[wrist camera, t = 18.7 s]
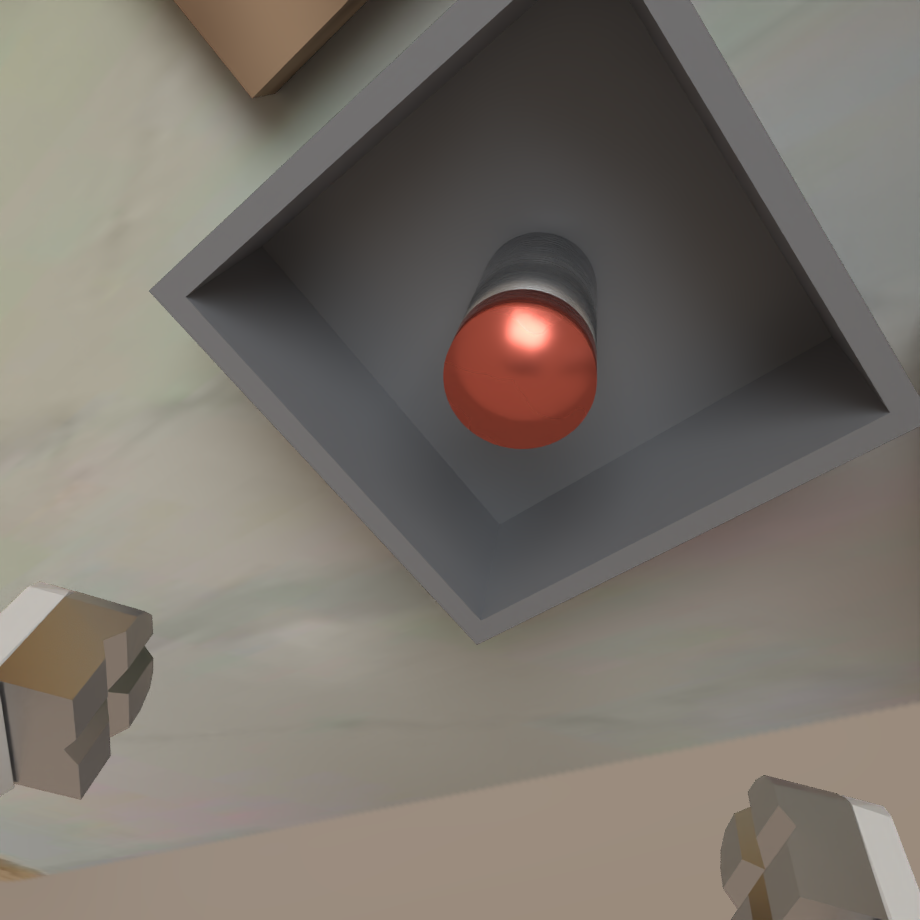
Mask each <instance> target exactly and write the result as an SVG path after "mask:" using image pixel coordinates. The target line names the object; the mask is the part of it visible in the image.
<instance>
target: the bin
mask: <svg viewBox="0 0 920 920" xmlns="http://www.w3.org/2000/svg"><path fill="white" fill-rule="evenodd" d="M533 232H547V233H553V234H556V235H559V236H562V237H564V238H566V239H568V240H570V241H571V242H573V243H574V244H576V245H577V246H578V247H579V248H580V249H581V250H582V251H583V252H584V253H585V255H586V256H587V258H588V259H589V261H590V263H591V265H592V267H593V269H594V272H595V276H596V282H597V387H596V394H595V398H594V401H593V404H592V406H591V409H590V410H589V412H588V414H587V416H586V417H585V418H584V420H583V421H582V422H581V424H580V425H579V426H578V427H577V428H576V429H575V430H574V431H572V432H571V433H570V434H568V435H567V436H566V437H564V438H562V439H560V440H559V441H557V442H554V443H552V444H549V445H546V446H543V447H538V448H532V449H512V448H506V447H501V446H498V445H495V444H492V443H490V442H488V441H485V440H483V439H482V438H480V437H478V436H477V435H475V434H474V433H472V432H471V431H470V430H469V429H467V428H466V427H465V426H464V425H463V424H462V423H461V421H460V420H459V419H458V418H457V416H456V415H455V413H454V412H453V410H452V408H451V406H450V404H449V402H448V400H447V397H446V393H445V389H444V382H443V370H444V363H445V359H446V355H447V353H448V350H449V348H450V346H451V344H452V341H453V339H454V337H455V335H456V333H457V330H458V328H459V326H460V324H461V322H462V319H463V317H464V315H465V313H466V311H467V308H468V306H469V304H470V302H471V299H472V297H473V295H474V293H475V291H476V288H477V286H478V284H479V282H480V280H481V277H482V275H483V273H484V271H485V269H486V266H487V264H488V262H489V261H490V259H491V257H492V256H493V255H494V253H495V252H496V251H497V250H498V249H499V248H500V247H501V246H502V245H503V244H505V243H506V242H508V241H509V240H511V239H513V238H515V237H517V236H520V235H523V234H527V233H533ZM149 292H150V293H151V294H152V295H153V296H154V297H155V298H156V299H157V300H158V301H159V303H160V304H161V305H162V306H163V307H164V308H165V309H166V310H167V311H168V312H169V313H170V314H171V315H172V317H173V318H174V319H175V320H176V321H177V322H178V323H179V324H180V325H181V326H182V327H183V328H184V329H185V331H186V332H187V333H188V334H189V335H190V336H191V337H192V338H193V339H194V340H195V341H196V342H197V344H198V345H199V346H200V347H201V348H202V349H203V350H204V351H205V352H206V353H207V354H208V355H209V356H210V358H211V359H212V360H213V361H214V362H215V363H216V364H217V365H218V366H219V367H220V368H221V369H222V370H223V372H224V373H225V374H226V375H227V376H228V377H229V378H230V379H231V380H232V381H233V382H234V383H235V384H236V386H237V387H238V388H239V389H240V390H241V391H242V392H243V393H244V394H245V395H246V396H247V397H248V399H249V400H250V401H251V402H252V403H253V404H254V405H255V406H256V407H257V408H258V409H259V410H260V411H261V413H262V414H263V415H264V416H265V417H266V418H267V419H268V420H269V421H270V422H271V423H272V424H273V425H274V427H275V428H276V429H277V430H278V431H279V432H280V433H281V434H282V435H283V436H284V437H285V438H286V440H287V441H288V442H289V443H290V444H291V445H292V446H293V447H294V448H295V449H296V450H297V451H298V452H299V454H300V455H301V456H302V457H303V458H304V459H305V460H306V461H307V462H308V463H309V464H310V465H311V466H312V468H313V469H314V470H315V471H316V472H317V473H318V474H319V475H320V476H321V477H322V478H323V479H324V480H325V482H326V483H327V484H328V485H329V486H330V487H331V488H332V489H333V490H334V491H335V492H336V493H337V495H338V496H339V497H340V498H341V499H342V500H343V501H344V502H345V503H346V504H347V505H348V506H349V507H350V509H351V510H352V511H353V512H354V513H355V514H356V515H357V516H358V517H359V518H360V519H361V520H362V521H363V523H364V524H365V525H366V526H367V527H368V528H369V529H370V530H371V531H372V532H373V533H374V534H375V536H376V537H377V538H378V539H379V540H380V541H381V542H382V543H383V544H384V545H385V546H386V547H387V548H388V550H389V551H390V552H391V553H392V554H393V555H394V556H395V557H396V558H397V559H398V560H399V561H400V562H401V564H402V565H403V566H404V567H405V568H406V569H407V570H408V571H409V572H410V573H411V574H412V575H413V576H414V578H415V579H416V580H417V581H418V582H419V583H420V584H421V585H422V586H423V587H424V588H425V589H426V591H427V592H428V593H429V594H430V595H431V596H432V597H433V598H434V599H435V600H436V601H437V602H438V603H439V605H440V606H441V607H442V608H443V609H444V610H445V611H446V612H447V613H448V614H449V615H450V616H451V617H452V619H453V620H454V621H455V622H456V623H457V624H458V625H459V626H460V627H461V628H462V629H463V630H464V631H465V633H466V634H467V635H468V636H469V637H470V638H471V639H472V640H473V641H474V642H475V643H476V644H477V645H478V644H480V643H482V642H484V641H486V640H488V639H490V638H492V637H494V636H496V635H498V634H500V633H502V632H504V631H506V630H508V629H510V628H512V627H514V626H516V625H518V624H520V623H522V622H524V621H526V620H528V619H530V618H532V617H534V616H536V615H538V614H540V613H542V612H544V611H546V610H548V609H550V608H552V607H555V606H557V605H559V604H561V603H563V602H565V601H567V600H569V599H571V598H573V597H575V596H577V595H579V594H581V593H583V592H585V591H587V590H589V589H591V588H593V587H595V586H597V585H599V584H601V583H603V582H605V581H607V580H609V579H611V578H613V577H615V576H617V575H619V574H621V573H623V572H625V571H627V570H629V569H632V568H634V567H636V566H638V565H640V564H642V563H644V562H646V561H648V560H650V559H652V558H654V557H656V556H658V555H660V554H662V553H664V552H666V551H668V550H670V549H672V548H674V547H676V546H678V545H680V544H682V543H684V542H686V541H688V540H690V539H692V538H694V537H696V536H698V535H700V534H702V533H704V532H706V531H708V530H711V529H713V528H715V527H717V526H719V525H721V524H723V523H725V522H727V521H729V520H731V519H733V518H735V517H737V516H739V515H741V514H743V513H745V512H747V511H749V510H751V509H753V508H755V507H757V506H759V505H761V504H763V503H765V502H767V501H769V500H771V499H773V498H775V497H777V496H779V495H781V494H783V493H785V492H788V491H790V490H792V489H794V488H796V487H798V486H800V485H802V484H804V483H806V482H808V481H810V480H812V479H814V478H816V477H818V476H820V475H822V474H824V473H826V472H828V471H830V470H832V469H834V468H836V467H838V466H840V465H842V464H844V463H846V462H848V461H850V460H852V459H854V458H856V457H858V456H860V455H862V454H865V453H867V452H869V451H871V450H873V449H875V448H877V447H879V446H881V445H883V444H885V443H887V442H889V441H891V440H893V439H895V438H897V437H899V436H901V435H903V434H905V433H907V432H909V431H911V430H913V429H915V428H917V427H919V426H920V397H919V395H918V393H917V391H916V390H915V388H914V386H913V385H912V383H911V381H910V379H909V378H908V376H907V374H906V372H905V371H904V369H903V367H902V366H901V364H900V362H899V360H898V359H897V357H896V355H895V353H894V352H893V350H892V348H891V347H890V345H889V343H888V341H887V340H886V338H885V336H884V334H883V333H882V331H881V329H880V327H879V326H878V324H877V322H876V321H875V319H874V317H873V315H872V314H871V312H870V310H869V308H868V307H867V305H866V303H865V302H864V300H863V298H862V296H861V295H860V293H859V291H858V289H857V288H856V286H855V284H854V283H853V281H852V279H851V277H850V276H849V274H848V272H847V270H846V269H845V267H844V265H843V264H842V262H841V260H840V258H839V257H838V255H837V253H836V251H835V250H834V248H833V246H832V244H831V243H830V241H829V239H828V238H827V236H826V234H825V232H824V231H823V229H822V227H821V225H820V224H819V222H818V220H817V219H816V217H815V215H814V213H813V212H812V210H811V208H810V206H809V205H808V203H807V201H806V200H805V198H804V196H803V194H802V193H801V191H800V189H799V187H798V186H797V184H796V182H795V181H794V179H793V177H792V175H791V174H790V172H789V170H788V168H787V167H786V165H785V163H784V162H783V160H782V158H781V156H780V155H779V153H778V151H777V149H776V148H775V146H774V144H773V142H772V141H771V139H770V137H769V136H768V134H767V132H766V130H765V129H764V127H763V125H762V123H761V122H760V120H759V118H758V117H757V115H756V113H755V111H754V110H753V108H752V106H751V104H750V103H749V101H748V99H747V98H746V96H745V94H744V92H743V91H742V89H741V87H740V85H739V84H738V82H737V80H736V79H735V77H734V75H733V73H732V72H731V70H730V68H729V66H728V65H727V63H726V61H725V60H724V58H723V56H722V54H721V53H720V51H719V49H718V47H717V46H716V44H715V42H714V40H713V39H712V37H711V35H710V34H709V32H708V30H707V28H706V27H705V25H704V23H703V21H702V20H701V18H700V16H699V15H698V13H697V11H696V9H695V8H694V6H693V4H692V2H691V1H690V0H457V1H456V2H455V3H454V4H453V5H452V6H451V7H450V8H449V9H448V10H447V11H446V12H445V13H444V14H443V15H441V16H440V17H439V18H438V19H437V20H436V21H435V22H434V23H433V24H432V25H431V26H430V27H429V28H428V29H427V30H426V31H424V32H423V33H422V34H421V35H420V36H419V37H418V38H417V39H416V40H415V41H414V42H413V43H412V44H411V45H410V46H409V47H407V48H406V49H405V50H404V51H403V52H402V53H401V54H400V55H399V56H398V57H397V58H396V59H395V60H394V61H393V62H392V63H390V64H389V65H388V66H387V67H386V68H385V69H384V70H383V71H382V72H381V73H380V74H379V75H378V76H377V77H376V78H375V79H373V80H372V81H371V82H370V83H369V84H368V85H367V86H366V87H365V88H364V89H363V90H362V91H361V92H360V93H359V94H358V95H356V96H355V97H354V98H353V99H352V100H351V101H350V102H349V103H348V104H347V105H346V106H345V107H344V108H343V109H342V110H341V111H339V112H338V113H337V114H336V115H335V116H334V117H333V118H332V119H331V120H330V121H329V122H328V123H327V124H326V125H325V126H324V127H322V128H321V129H320V130H319V131H318V132H317V133H316V134H315V135H314V136H313V137H312V138H311V139H310V140H309V141H308V142H307V143H305V144H304V145H303V146H302V147H301V148H300V149H299V150H298V151H297V152H296V153H295V154H294V155H293V156H292V157H291V158H290V159H288V160H287V161H286V162H285V163H284V164H283V165H282V166H281V167H280V168H279V169H278V170H277V171H276V172H275V173H274V174H273V175H271V176H270V177H269V178H268V179H267V180H266V181H265V182H264V183H263V184H262V185H261V186H260V187H259V188H258V189H257V190H256V191H254V192H253V193H252V194H251V195H250V196H249V197H248V198H247V199H246V200H245V201H244V202H243V203H242V204H241V205H240V206H239V207H237V208H236V209H235V210H234V211H233V212H232V213H231V214H230V215H229V216H228V217H227V218H226V219H225V220H224V221H223V222H222V223H220V224H219V225H218V226H217V227H216V228H215V229H214V230H213V231H212V232H211V233H210V234H209V235H208V236H207V237H206V238H205V239H203V240H202V241H201V242H200V243H199V244H198V245H197V246H196V247H195V248H194V249H193V250H192V251H191V252H190V253H189V254H188V255H186V256H185V257H184V258H183V259H182V260H181V261H180V262H179V263H178V264H177V265H176V266H175V267H174V268H173V269H172V270H171V271H169V272H168V273H167V274H166V275H165V276H164V277H163V278H162V279H161V280H160V281H159V282H158V283H157V284H156V285H155V286H154V287H152V288H151V289H150V290H149Z"/></svg>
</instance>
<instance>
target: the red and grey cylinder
mask: <svg viewBox="0 0 920 920" xmlns="http://www.w3.org/2000/svg"><path fill="white" fill-rule="evenodd" d="M443 382H444V389H445V393H446V397H447V400H448V402H449V404H450V406H451V408H452V410H453V412H454V413H455V415H456V416H457V418H458V419H459V420H460V421H461V423H462V424H463V425H464V426H465V427H466V428H467V429H469V430H470V431H471V432H472V433H474V434H475V435H477V436H478V437H480V438H482V439H483V440H485V441H488V442H490V443H492V444H495V445H498V446H501V447H506V448H512V449H532V448H538V447H543V446H546V445H549V444H552V443H554V442H557V441H559V440H560V439H562V438H564V437H566V436H567V435H568V434H570V433H571V432H572V431H574V430H575V429H576V428H577V427H578V426H579V425H580V424H581V422H582V421H583V420H584V418H585V417H586V416H587V414H588V412H589V410H590V409H591V406H592V404H593V401H594V398H595V394H596V387H597V282H596V276H595V272H594V269H593V267H592V265H591V263H590V261H589V259H588V258H587V256H586V255H585V253H584V252H583V251H582V250H581V249H580V248H579V247H578V246H577V245H576V244H574V243H573V242H571V241H570V240H568V239H566V238H564V237H562V236H559V235H556V234H553V233H547V232H533V233H527V234H523V235H520V236H517V237H515V238H513V239H511V240H509V241H508V242H506V243H505V244H503V245H502V246H501V247H500V248H499V249H498V250H497V251H496V252H495V253H494V255H493V256H492V257H491V259H490V261H489V262H488V264H487V266H486V269H485V271H484V273H483V275H482V277H481V280H480V282H479V284H478V286H477V288H476V291H475V293H474V295H473V297H472V299H471V302H470V304H469V306H468V308H467V311H466V313H465V315H464V317H463V319H462V322H461V324H460V326H459V328H458V330H457V333H456V335H455V337H454V339H453V341H452V344H451V346H450V348H449V350H448V353H447V355H446V359H445V363H444V370H443Z"/></svg>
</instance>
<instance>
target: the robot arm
mask: <svg viewBox="0 0 920 920" xmlns="http://www.w3.org/2000/svg"><path fill="white" fill-rule="evenodd" d="M152 635H153V622H152V615H151V614H149V613H147V612H145V611H142V610H138V609H135V608H131V607H128V606H125V605H121V604H118V603H114V602H111V601H108V600H104V599H101V598H97V597H94V596H91V595H87V594H84V593H80V592H77V591H72V590H68V589H65V588H61V587H58V586H54V585H51V584H47V583H44V582H40V581H39V582H37V583H35V584H33V585H30V586H28V587H27V588H25V589H24V590H23V591H22V592H21V593H20V594H19V595H18V596H17V597H16V598H15V599H14V600H13V601H12V602H11V603H10V604H9V605H8V606H7V607H6V608H5V609H4V610H3V611H2V612H1V613H0V797H1V796H2V795H4V794H5V793H7V792H8V791H10V790H12V789H13V788H14V784H18V785H22V786H26V787H31V788H35V789H39V790H43V791H47V792H51V793H55V794H59V795H63V796H68V797H72V798H76V799H80V800H81V799H82V797H83V796H84V794H85V793H86V791H87V790H88V788H89V787H90V786H91V784H92V783H93V781H94V780H95V778H96V777H97V775H98V774H99V772H100V771H101V769H102V768H103V766H104V765H105V763H106V762H107V760H108V759H109V757H110V756H111V755H110V737H112V736H114V735H116V734H118V733H120V732H122V731H124V730H125V729H127V728H129V727H130V725H131V724H132V722H133V721H134V719H135V718H136V716H137V714H138V713H139V711H140V710H141V708H142V705H143V703H144V700H145V698H146V696H147V693H148V691H149V689H150V684H151V679H152V674H153V657H152V656H151V654H150V653H149V652H148V650H147V649H146V647H145V644H146V643H147V642H148V640H149V639H150V637H151V636H152ZM748 796H749V801H750V807H749V808H747V809H744V810H742V811H739V812H737V813H734V815H733V817H732V819H731V821H730V823H729V824H728V826H727V828H726V830H725V833H724V838H723V842H722V847H721V867H720V868H721V876H722V884H723V889H724V890H725V892H726V893H727V895H728V896H729V897H730V899H731V900H732V902H733V903H734V904H735V906H736V907H737V909H738V910H737V911H736V913H735V914H734V916H733V917H732V919H731V920H920V890H919V888H918V885H917V883H916V880H915V878H914V875H913V872H912V869H911V867H910V864H909V861H908V859H907V856H906V854H905V851H904V848H903V846H902V843H901V840H900V838H899V835H898V832H897V830H896V827H895V825H894V822H893V820H892V817H891V815H890V813H889V812H888V811H887V810H886V809H885V808H884V806H882V805H878V804H874V803H870V802H866V801H863V800H859V799H855V798H851V797H847V796H844V795H842V796H840V795H839V794H837V793H833V792H829V791H825V790H821V789H817V788H813V787H809V786H805V785H802V784H798V783H794V782H790V781H786V780H782V779H778V778H774V777H770V776H766V775H763V776H762V777H760V778H758V779H757V780H755V782H754V784H753V785H752V786H751V788H750V790H749V791H748Z"/></svg>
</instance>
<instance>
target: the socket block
mask: <svg viewBox="0 0 920 920" xmlns="http://www.w3.org/2000/svg"><path fill="white" fill-rule="evenodd" d="M367 1H368V0H174V2H175V3H176V4H177V5H178V7H179V8H180V9H181V10H182V12H183V13H184V14H185V15H186V17H187V18H188V19H189V20H190V21H191V23H192V24H193V25H194V26H195V28H196V29H197V30H198V31H199V33H200V34H201V35H202V36H203V38H204V39H205V40H206V41H207V43H208V44H209V45H210V46H211V48H212V49H213V50H214V51H215V53H216V54H217V55H218V56H219V58H220V59H221V60H222V61H223V63H224V64H225V65H226V66H227V68H228V69H229V70H230V71H231V73H232V74H233V75H234V76H235V78H236V79H237V80H238V81H239V83H240V84H241V85H242V86H243V88H244V89H245V90H246V91H247V93H248V94H249V95H250V96H251V98H256V97H261V96H266V95H270V94H275V93H276V92H277V91H278V90H279V89H280V88H281V87H282V86H283V85H284V84H285V83H286V82H287V81H288V80H289V79H290V78H291V77H292V76H293V75H294V74H295V73H296V72H297V71H298V70H299V69H300V68H301V67H302V66H303V65H304V64H305V63H306V62H307V61H308V60H309V59H310V58H311V57H312V56H313V55H314V54H315V53H316V52H317V51H318V50H319V49H320V48H321V47H322V46H323V45H324V44H325V43H326V42H327V41H328V40H329V39H330V38H331V37H332V36H333V35H334V34H335V33H336V32H337V31H338V30H339V29H340V28H341V27H342V26H343V25H344V24H345V23H346V22H347V21H348V20H349V19H350V18H351V17H352V16H353V15H354V14H355V13H356V12H357V11H358V10H359V9H360V8H361V7H362V6H363V5H364V4H365V3H366V2H367Z"/></svg>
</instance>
